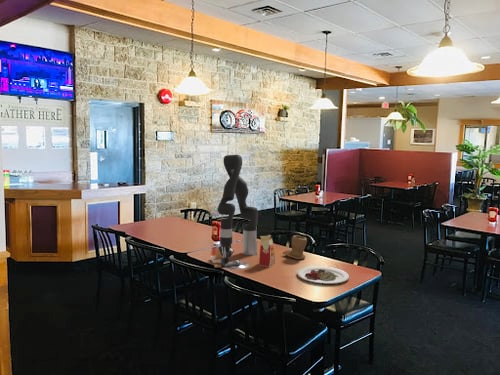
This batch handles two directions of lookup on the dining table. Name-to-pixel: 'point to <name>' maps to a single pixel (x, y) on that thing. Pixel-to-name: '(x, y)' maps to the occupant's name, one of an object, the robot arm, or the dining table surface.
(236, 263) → the crank
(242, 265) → the base disc
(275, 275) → the dining table surface
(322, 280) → the plated food
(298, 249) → the tan boot
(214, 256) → the tray
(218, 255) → the stop pin
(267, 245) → the milk carton
